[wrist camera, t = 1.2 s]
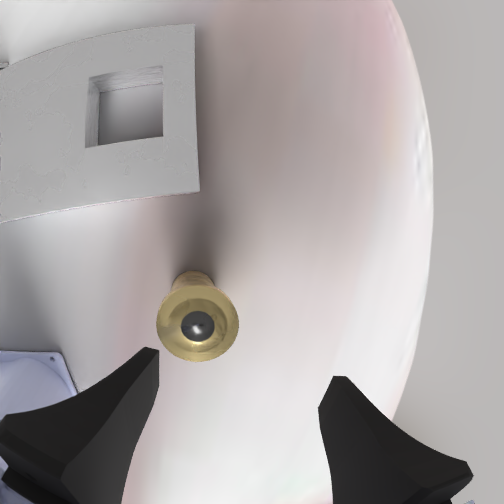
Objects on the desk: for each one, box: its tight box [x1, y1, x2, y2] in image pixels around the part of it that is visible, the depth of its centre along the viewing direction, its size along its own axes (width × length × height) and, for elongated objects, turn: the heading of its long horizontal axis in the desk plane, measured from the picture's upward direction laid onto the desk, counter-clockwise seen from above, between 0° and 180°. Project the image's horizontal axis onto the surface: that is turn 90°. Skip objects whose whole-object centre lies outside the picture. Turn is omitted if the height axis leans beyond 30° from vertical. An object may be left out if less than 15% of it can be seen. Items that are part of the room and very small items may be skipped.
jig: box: [0, 24, 200, 223], centre depth 15 cm, size 16×12×3 cm
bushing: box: [156, 271, 239, 362], centre depth 17 cm, size 4×4×6 cm
